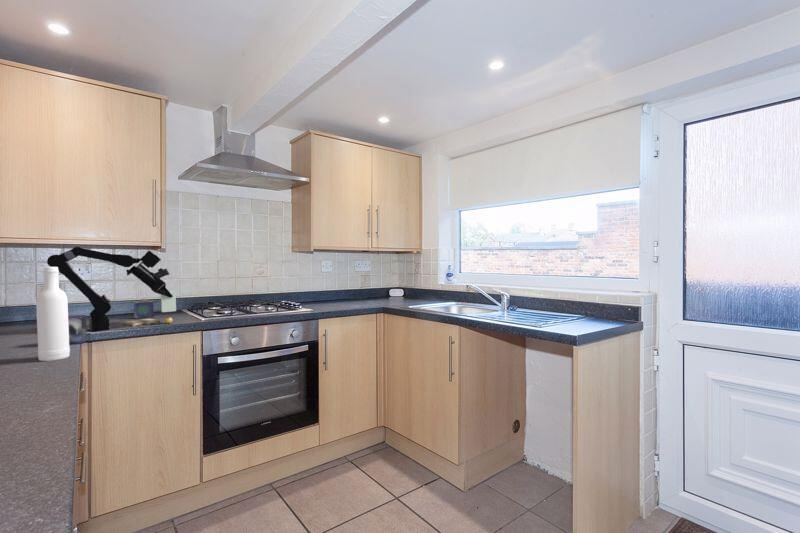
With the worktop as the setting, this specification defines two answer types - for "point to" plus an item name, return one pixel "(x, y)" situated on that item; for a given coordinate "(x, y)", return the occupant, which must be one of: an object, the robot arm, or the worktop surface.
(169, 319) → the marble
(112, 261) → the robot arm
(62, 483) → the worktop surface
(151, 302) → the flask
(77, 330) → the small box
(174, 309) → the pale green block
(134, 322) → the trivet
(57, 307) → the bottle
